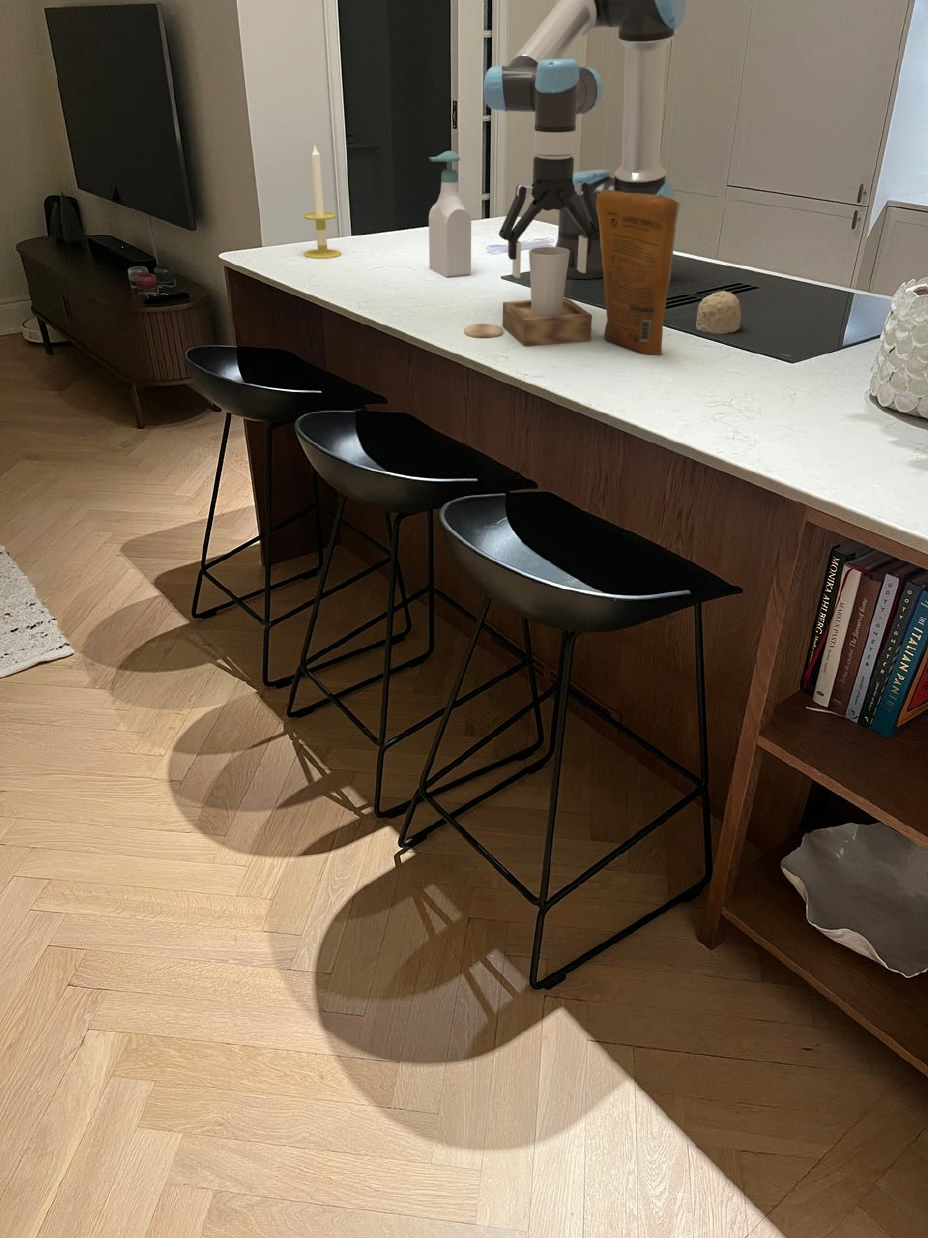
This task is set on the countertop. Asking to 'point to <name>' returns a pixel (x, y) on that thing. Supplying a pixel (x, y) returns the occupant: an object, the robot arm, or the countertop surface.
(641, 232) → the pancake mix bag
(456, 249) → the soap bottle
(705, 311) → the sponge
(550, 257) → the cup
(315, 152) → the candle
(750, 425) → the countertop surface
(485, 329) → the coaster
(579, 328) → the wooden tray
